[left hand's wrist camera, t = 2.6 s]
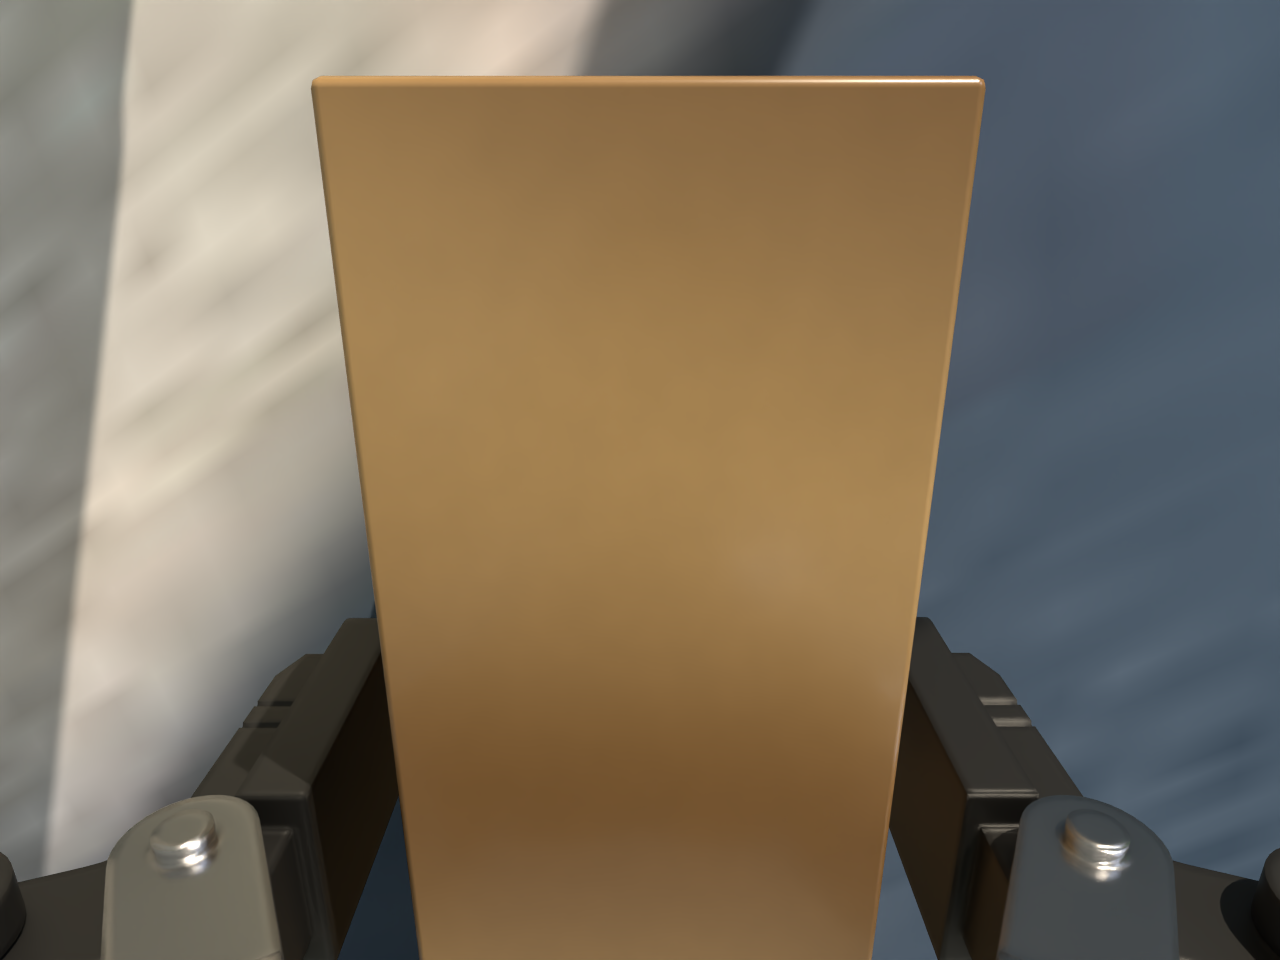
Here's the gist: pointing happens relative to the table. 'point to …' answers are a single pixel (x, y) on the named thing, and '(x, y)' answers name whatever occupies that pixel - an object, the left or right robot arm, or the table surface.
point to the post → (646, 488)
